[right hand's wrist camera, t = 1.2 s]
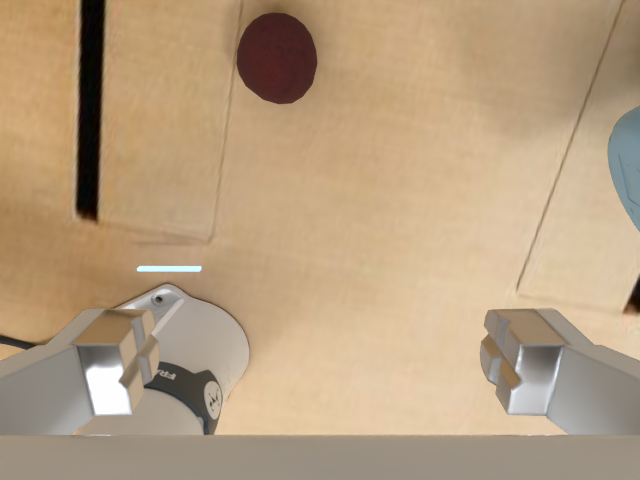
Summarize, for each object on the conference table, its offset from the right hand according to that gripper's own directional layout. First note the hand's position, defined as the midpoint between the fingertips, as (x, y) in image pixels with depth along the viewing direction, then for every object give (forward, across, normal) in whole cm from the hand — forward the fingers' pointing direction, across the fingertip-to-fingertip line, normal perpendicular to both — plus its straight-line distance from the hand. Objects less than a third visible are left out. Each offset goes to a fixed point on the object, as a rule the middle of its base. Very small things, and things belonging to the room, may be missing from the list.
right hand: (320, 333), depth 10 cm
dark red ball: (+36, +4, -8) cm, 37 cm away
